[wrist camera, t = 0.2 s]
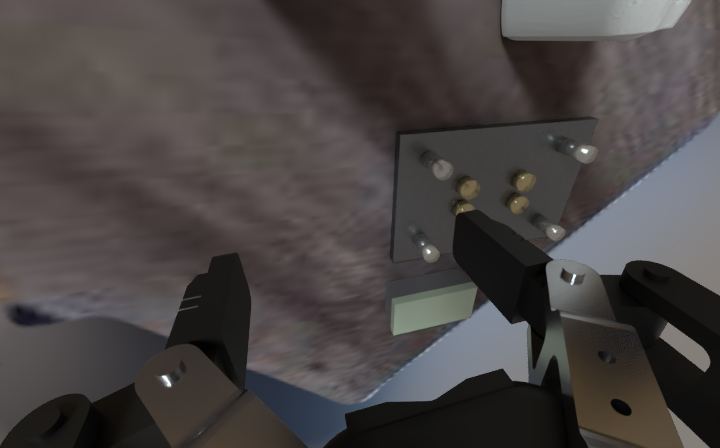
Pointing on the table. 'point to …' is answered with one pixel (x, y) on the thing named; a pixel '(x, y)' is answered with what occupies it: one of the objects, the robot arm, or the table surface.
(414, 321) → the grey green block
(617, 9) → the photo printer
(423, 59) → the table surface
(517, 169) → the plate
